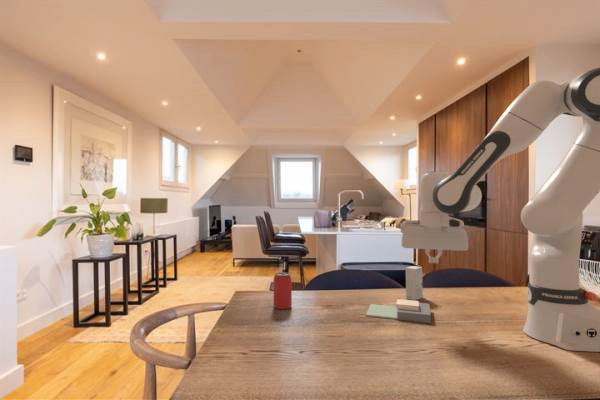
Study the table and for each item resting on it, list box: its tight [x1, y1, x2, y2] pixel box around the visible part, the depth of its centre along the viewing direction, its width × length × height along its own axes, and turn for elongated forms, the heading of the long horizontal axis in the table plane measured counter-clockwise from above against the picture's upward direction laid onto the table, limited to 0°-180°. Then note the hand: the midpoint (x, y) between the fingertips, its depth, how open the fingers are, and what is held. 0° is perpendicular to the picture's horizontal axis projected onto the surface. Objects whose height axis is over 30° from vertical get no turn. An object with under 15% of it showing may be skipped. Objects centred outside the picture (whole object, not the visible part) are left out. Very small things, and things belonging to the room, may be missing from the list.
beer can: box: [273, 271, 293, 310], centre depth 118 cm, size 7×7×12 cm
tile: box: [395, 298, 420, 311], centre depth 110 cm, size 7×6×2 cm
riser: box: [396, 302, 432, 324], centre depth 109 cm, size 10×12×2 cm
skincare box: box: [405, 265, 424, 301], centre depth 129 cm, size 6×4×12 cm
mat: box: [365, 303, 398, 320], centre depth 112 cm, size 10×12×1 cm
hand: (433, 263), depth 107 cm, fingers closed
